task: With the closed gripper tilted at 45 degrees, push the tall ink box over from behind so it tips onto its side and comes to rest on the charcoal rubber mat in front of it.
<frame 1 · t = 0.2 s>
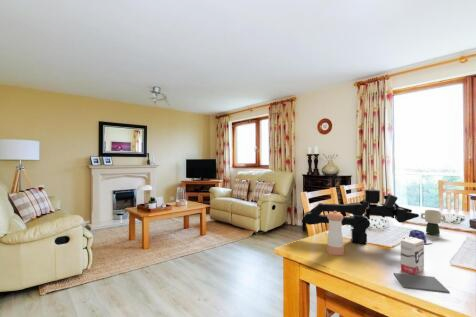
hand: (415, 213, 125), 16 cm above the table, tool horizontal, fingers open, 9 cm apart
ink box: (412, 270, 99), on the table
mat: (419, 282, 89), on the table
character mug: (432, 234, 145), on the table
pepper shaker: (335, 252, 118), on the table
blue low rounded piece: (417, 241, 134), on the table
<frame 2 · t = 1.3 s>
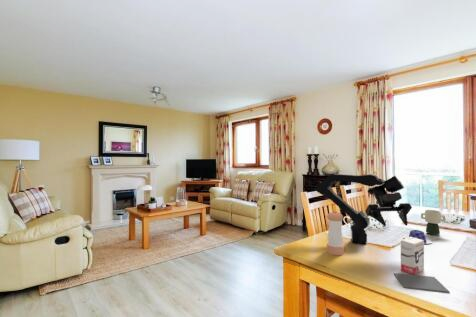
hand: (396, 225, 113), 14 cm above the table, tool tilted 45°, fingers open, 9 cm apart
nothing on the table moved.
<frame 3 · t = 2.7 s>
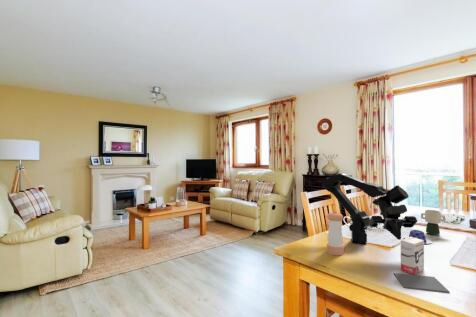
hand: (399, 239, 109), 9 cm above the table, tool tilted 45°, fingers closed
nothing on the table moved.
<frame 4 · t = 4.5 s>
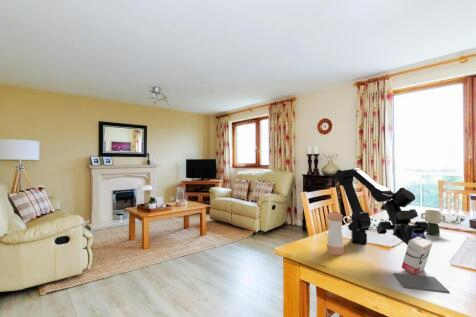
hand: (411, 246, 101), 8 cm above the table, tool tilted 45°, fingers closed
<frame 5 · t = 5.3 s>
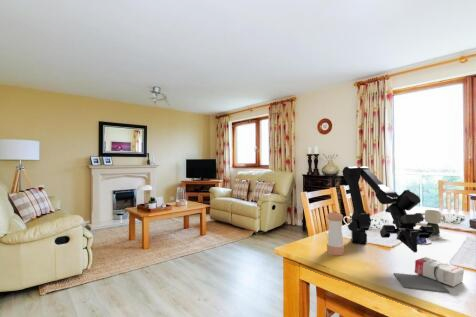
hand: (415, 252, 97), 8 cm above the table, tool tilted 45°, fingers closed
ink box: (419, 264, 97), point 3 cm above the table, touching mat
everything else where it was.
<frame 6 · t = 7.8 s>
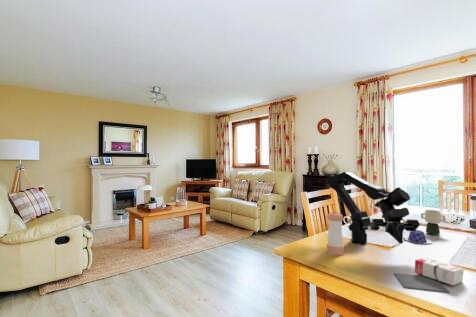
hand: (401, 243, 107), 8 cm above the table, tool tilted 45°, fingers closed
nothing on the table moved.
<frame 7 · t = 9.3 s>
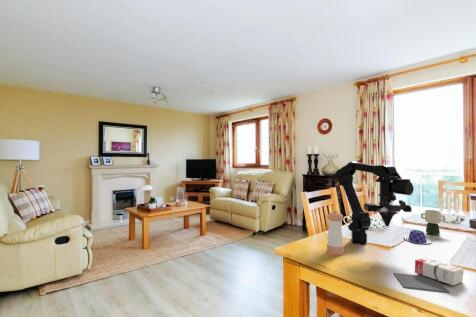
hand: (387, 226, 118), 12 cm above the table, tool pointing down, fingers closed
nothing on the table moved.
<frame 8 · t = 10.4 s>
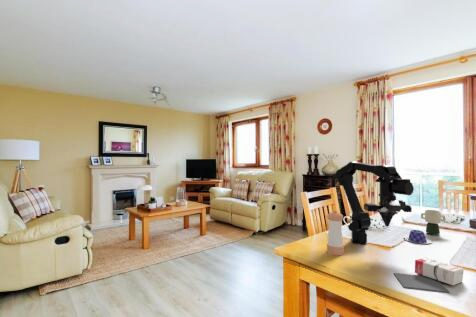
hand: (386, 226, 118), 12 cm above the table, tool pointing down, fingers closed
at the end: ink box tilted 90°; ink box touching mat, table; ink box inside the target area (5.6 cm from its centre), point 2.7 cm above the table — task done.
